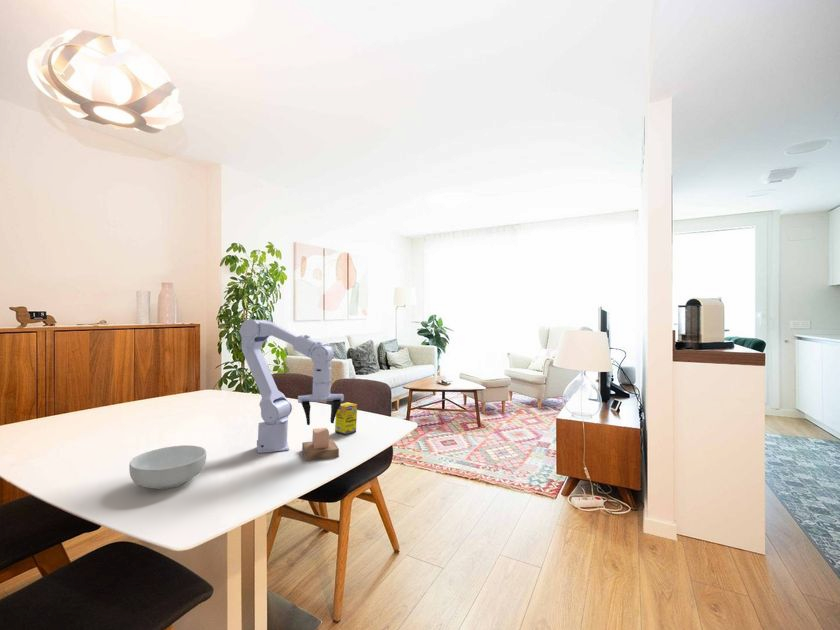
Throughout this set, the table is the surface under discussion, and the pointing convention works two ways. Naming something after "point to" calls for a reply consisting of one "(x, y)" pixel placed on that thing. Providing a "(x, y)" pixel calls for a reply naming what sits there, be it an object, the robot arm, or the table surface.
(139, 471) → the cereal bowl
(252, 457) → the table surface
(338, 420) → the supplement box
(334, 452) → the walnut base
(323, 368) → the robot arm
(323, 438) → the terracotta block
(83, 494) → the table surface
